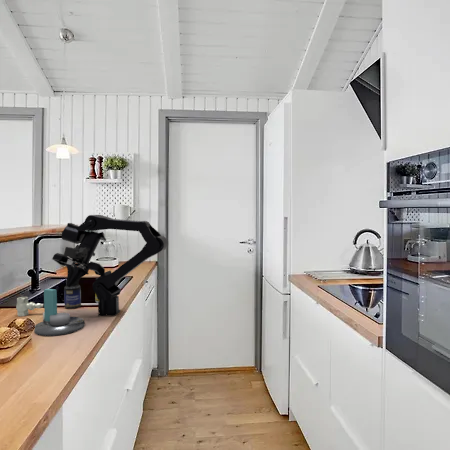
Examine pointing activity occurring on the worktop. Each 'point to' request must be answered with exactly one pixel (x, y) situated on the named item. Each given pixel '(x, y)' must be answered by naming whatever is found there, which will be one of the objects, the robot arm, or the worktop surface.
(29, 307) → the valve
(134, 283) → the worktop surface
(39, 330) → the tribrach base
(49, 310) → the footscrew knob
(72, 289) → the pill bottle
